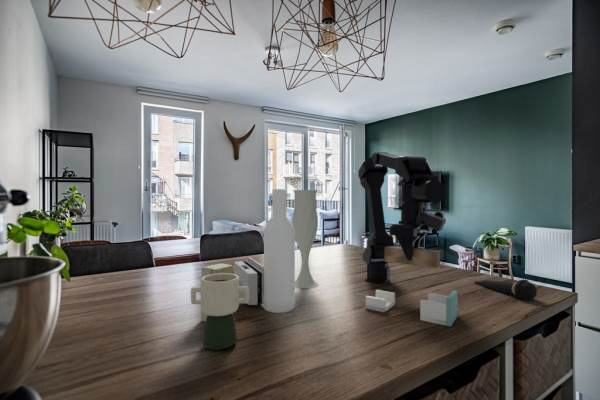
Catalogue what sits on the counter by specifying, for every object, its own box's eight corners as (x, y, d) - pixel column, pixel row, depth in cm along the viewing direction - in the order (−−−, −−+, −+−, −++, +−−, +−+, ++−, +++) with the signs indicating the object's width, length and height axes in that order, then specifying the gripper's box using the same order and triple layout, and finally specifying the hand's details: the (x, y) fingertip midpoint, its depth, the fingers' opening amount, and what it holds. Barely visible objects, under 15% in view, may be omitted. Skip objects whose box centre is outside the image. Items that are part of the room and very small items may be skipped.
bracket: (234, 291, 99) (233, 258, 99) (249, 290, 101) (249, 256, 101) (248, 309, 84) (247, 269, 84) (266, 307, 86) (266, 268, 86)
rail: (384, 261, 95) (384, 247, 95) (388, 259, 98) (389, 245, 98) (436, 267, 87) (436, 252, 87) (439, 265, 90) (440, 250, 90)
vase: (286, 286, 105) (287, 190, 104) (297, 280, 113) (297, 190, 112) (313, 289, 102) (313, 190, 101) (322, 282, 109) (322, 190, 109)
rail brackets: (365, 308, 85) (365, 284, 85) (376, 300, 91) (377, 278, 91) (450, 326, 73) (451, 299, 73) (457, 316, 80) (457, 291, 79)
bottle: (296, 303, 89) (296, 189, 88) (293, 313, 81) (294, 188, 80) (266, 302, 89) (266, 189, 89) (260, 312, 81) (260, 188, 81)
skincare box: (213, 325, 74) (213, 269, 74) (200, 321, 76) (199, 267, 76) (234, 316, 79) (234, 264, 79) (220, 312, 82) (220, 262, 81)
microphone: (471, 294, 108) (530, 305, 89) (466, 277, 108) (523, 285, 90) (484, 287, 110) (544, 297, 91) (478, 270, 110) (537, 277, 91)
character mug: (250, 336, 68) (250, 272, 68) (247, 353, 61) (247, 281, 61) (195, 338, 67) (195, 273, 67) (185, 355, 60) (185, 282, 60)
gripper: (434, 203, 80) (433, 269, 80) (450, 202, 95) (450, 257, 96) (388, 202, 86) (388, 263, 87) (410, 201, 102) (410, 253, 102)
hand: (411, 259), depth 92 cm, fingers closed on rail, 3 cm apart
